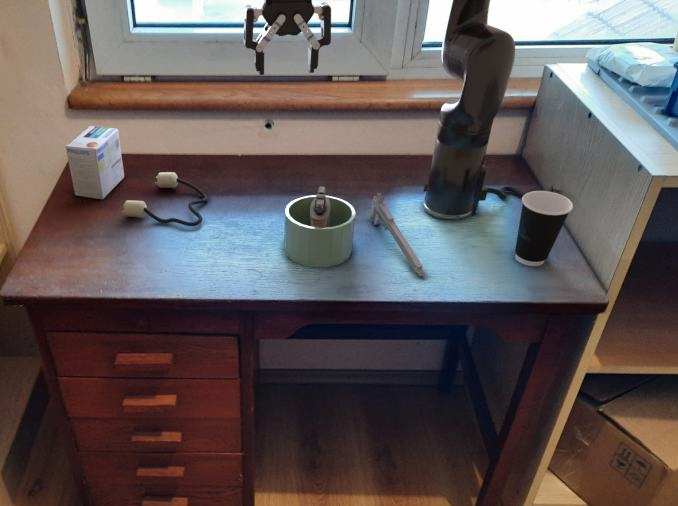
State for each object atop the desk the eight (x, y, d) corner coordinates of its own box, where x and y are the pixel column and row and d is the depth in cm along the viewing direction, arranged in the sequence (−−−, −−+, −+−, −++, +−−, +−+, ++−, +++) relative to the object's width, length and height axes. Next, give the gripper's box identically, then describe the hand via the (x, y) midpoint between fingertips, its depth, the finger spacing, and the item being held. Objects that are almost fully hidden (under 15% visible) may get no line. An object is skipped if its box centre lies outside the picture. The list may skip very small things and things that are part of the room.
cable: (228, 194, 134) (227, 178, 132) (194, 233, 122) (193, 216, 120) (159, 182, 138) (158, 166, 136) (121, 218, 127) (118, 202, 124)
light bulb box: (97, 173, 141) (88, 124, 135) (125, 177, 140) (119, 127, 133) (73, 196, 134) (63, 145, 127) (104, 200, 132) (95, 149, 125)
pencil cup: (342, 229, 123) (346, 193, 118) (358, 264, 114) (363, 226, 109) (279, 234, 122) (280, 197, 117) (290, 269, 112) (291, 231, 108)
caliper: (369, 220, 125) (373, 189, 121) (374, 219, 126) (378, 189, 122) (419, 277, 110) (425, 245, 106) (425, 276, 111) (431, 244, 107)
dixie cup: (497, 258, 115) (513, 201, 108) (520, 241, 119) (537, 185, 112) (539, 276, 110) (558, 218, 103) (562, 259, 114) (582, 201, 107)
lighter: (325, 258, 114) (329, 206, 107) (306, 256, 114) (309, 204, 108) (328, 234, 120) (332, 183, 113) (310, 233, 120) (313, 182, 114)
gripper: (246, -30, 98) (247, 81, 108) (339, -33, 99) (332, 77, 110) (240, -40, 104) (242, 67, 114) (329, -42, 105) (322, 63, 115)
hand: (286, 72), depth 112 cm, fingers open, 8 cm apart
